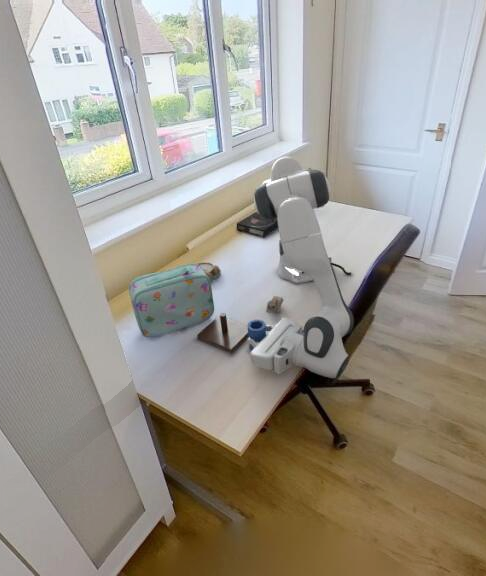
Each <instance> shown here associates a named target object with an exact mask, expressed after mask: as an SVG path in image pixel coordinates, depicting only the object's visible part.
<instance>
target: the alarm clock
mask: <svg viewBox="0 0 486 576" xmlns="http://www.w3.org/2000/svg"><path fill="white" fill-rule="evenodd" d="M196 264H198V265H200V266H201V267H202V269H203V271H204V273H205V274H206V275H207V276H208V277H209V279H210V282H211V283H212V281H213V280H217V279H219V278H220V277H221V275H222V273H221V271H222V270H221V269H220V267H219V266H218V265H214V264H213V263H211V262H206V261H205V262H198V263H197V262H196Z"/></svg>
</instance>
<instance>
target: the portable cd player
mask: <svg viewBox="0 0 486 576" xmlns="http://www.w3.org/2000/svg"><path fill="white" fill-rule="evenodd" d="M235 228H236V231H238V232H242V233H245V234H249V235H253V236H256V237H260V238H263V239H265V238H266V237H267V236H269V235H270V234H272V233H273V232H275V231H276V230H279V228H278V221H277V218H276V219H275V223H272V221H268V220H265V219H263V218H261V217H260V215H259V214H258V212H257V211H255V212H253V213H251V214H250V215H248V216H246V217H244V218H243V219H241V220H240V221H238V222H236V227H235Z"/></svg>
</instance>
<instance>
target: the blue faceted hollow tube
mask: <svg viewBox="0 0 486 576" xmlns="http://www.w3.org/2000/svg"><path fill="white" fill-rule="evenodd" d="M266 325H267V324H266V322H264V321H263V320H261V319H253V320H250V321H249V322H247V327H248V338H249V337H253V338H255V342H259V343H260V342H261V341H262V339H263V338H264V337H265V336H266V335H267V331H266ZM248 338H247V339H248ZM248 347H249V350H250V352H251V351H252V350H253V349H254V347H253V346H252V345H251V344H248Z"/></svg>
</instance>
